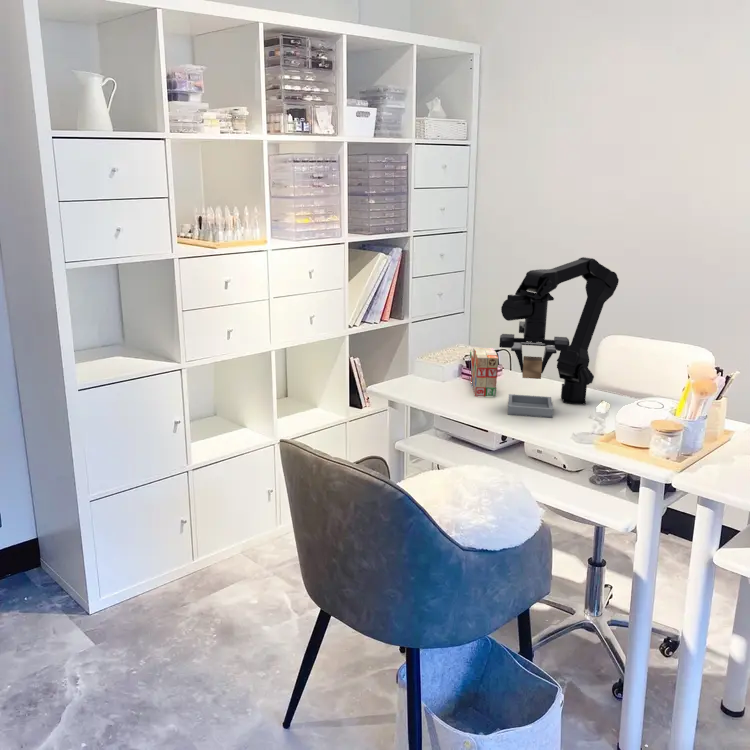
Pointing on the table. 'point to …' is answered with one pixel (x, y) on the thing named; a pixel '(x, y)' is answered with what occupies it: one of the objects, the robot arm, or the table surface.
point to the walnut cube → (532, 367)
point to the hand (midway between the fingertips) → (531, 372)
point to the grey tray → (530, 406)
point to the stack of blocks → (484, 371)
